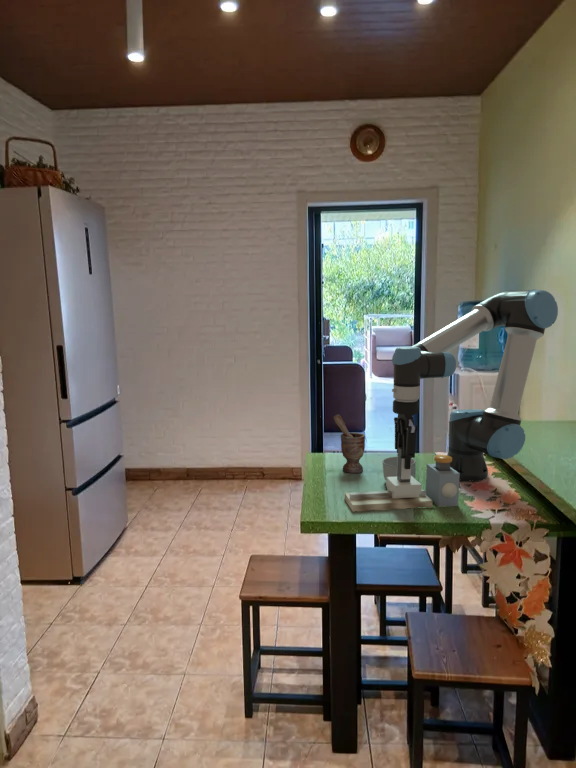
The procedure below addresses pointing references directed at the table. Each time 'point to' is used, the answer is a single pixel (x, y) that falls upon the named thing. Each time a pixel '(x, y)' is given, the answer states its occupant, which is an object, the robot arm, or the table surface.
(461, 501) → the table surface
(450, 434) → the robot arm
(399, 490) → the carriage
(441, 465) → the button
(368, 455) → the table surface
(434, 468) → the blue-grey button box
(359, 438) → the mortar and pestle
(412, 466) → the teacup
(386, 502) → the rail board
